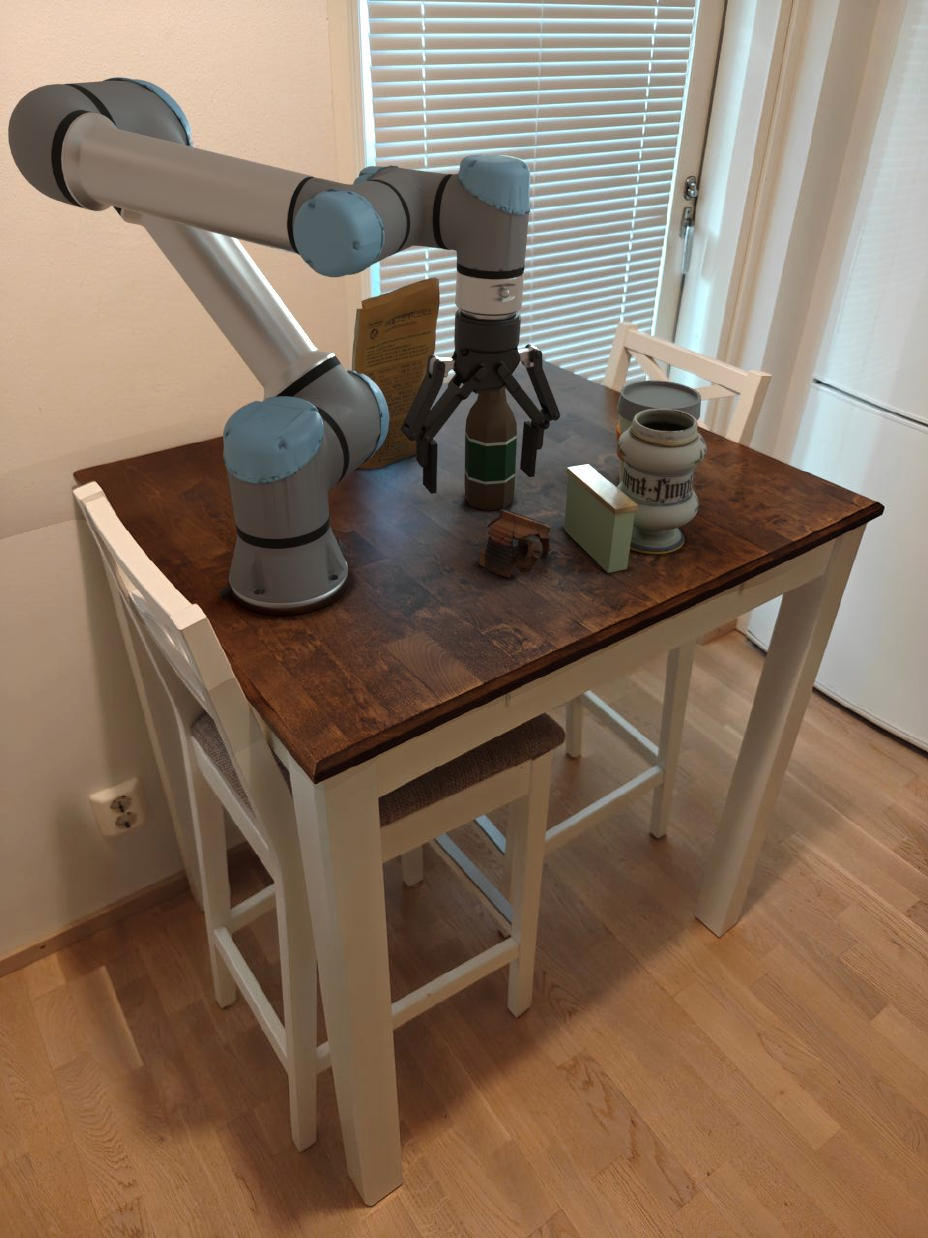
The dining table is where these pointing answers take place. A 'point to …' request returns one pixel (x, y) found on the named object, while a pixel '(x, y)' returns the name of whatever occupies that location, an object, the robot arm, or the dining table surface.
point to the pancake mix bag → (396, 356)
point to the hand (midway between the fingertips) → (479, 480)
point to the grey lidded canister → (653, 403)
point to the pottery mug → (500, 543)
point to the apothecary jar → (661, 476)
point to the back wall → (599, 517)
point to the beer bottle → (490, 452)
